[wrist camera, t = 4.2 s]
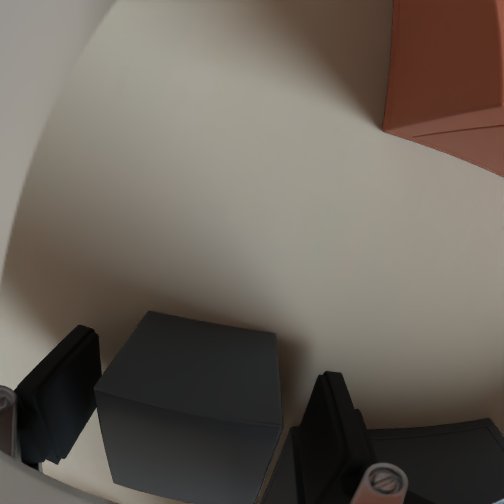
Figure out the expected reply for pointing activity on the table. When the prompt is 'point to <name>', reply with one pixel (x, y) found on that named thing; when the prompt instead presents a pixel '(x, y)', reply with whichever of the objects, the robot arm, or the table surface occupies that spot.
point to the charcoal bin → (418, 463)
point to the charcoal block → (191, 410)
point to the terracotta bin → (449, 78)
